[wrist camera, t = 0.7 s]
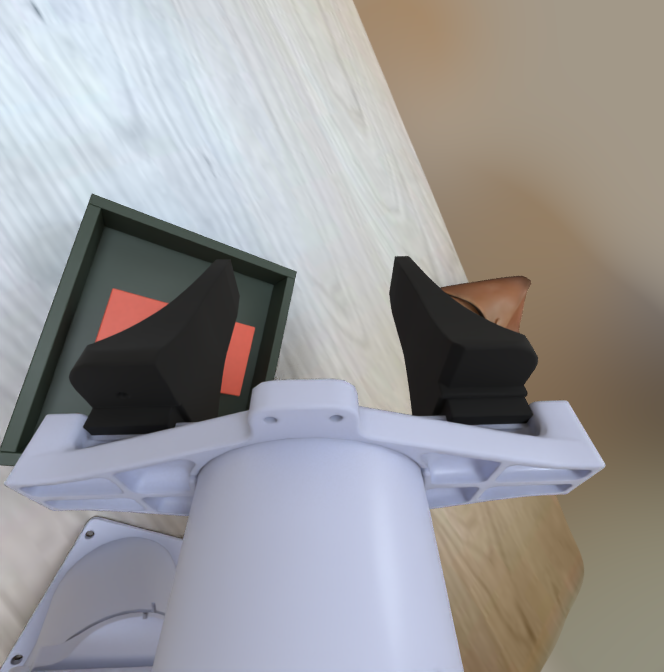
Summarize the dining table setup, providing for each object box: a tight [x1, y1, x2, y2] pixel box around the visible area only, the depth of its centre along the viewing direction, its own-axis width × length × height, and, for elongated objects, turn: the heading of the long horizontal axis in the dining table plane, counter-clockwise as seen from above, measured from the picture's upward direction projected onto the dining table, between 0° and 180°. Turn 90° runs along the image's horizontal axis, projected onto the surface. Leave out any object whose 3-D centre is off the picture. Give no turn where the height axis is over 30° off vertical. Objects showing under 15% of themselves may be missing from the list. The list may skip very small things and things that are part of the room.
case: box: [95, 288, 255, 396], centre depth 24 cm, size 5×9×4 cm, turn 78°
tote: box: [0, 194, 297, 466], centre depth 25 cm, size 16×14×4 cm
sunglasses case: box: [441, 276, 531, 333], centre depth 43 cm, size 18×7×7 cm
